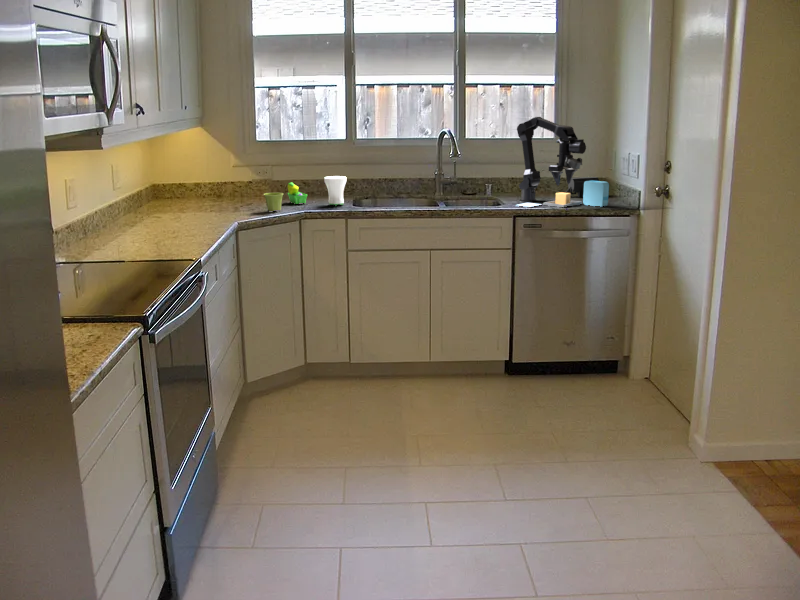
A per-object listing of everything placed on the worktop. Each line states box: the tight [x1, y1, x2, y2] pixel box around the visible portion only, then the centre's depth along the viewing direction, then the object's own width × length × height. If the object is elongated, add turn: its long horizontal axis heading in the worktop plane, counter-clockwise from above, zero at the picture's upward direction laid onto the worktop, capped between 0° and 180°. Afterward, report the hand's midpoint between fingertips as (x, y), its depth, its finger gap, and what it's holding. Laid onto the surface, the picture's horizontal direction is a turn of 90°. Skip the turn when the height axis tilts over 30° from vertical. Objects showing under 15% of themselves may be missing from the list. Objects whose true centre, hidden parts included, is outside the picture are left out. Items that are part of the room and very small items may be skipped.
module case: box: [542, 199, 583, 208], centre depth 386 cm, size 12×16×2 cm
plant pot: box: [263, 192, 284, 211], centre depth 376 cm, size 9×9×9 cm
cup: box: [323, 175, 348, 207], centre depth 393 cm, size 11×11×14 cm
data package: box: [582, 180, 610, 208], centre depth 382 cm, size 12×4×12 cm, turn 38°
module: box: [554, 192, 572, 205], centre depth 385 cm, size 6×4×6 cm, turn 44°
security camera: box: [564, 176, 600, 198], centre depth 413 cm, size 7×18×10 cm, turn 104°
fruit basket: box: [287, 182, 308, 205], centre depth 401 cm, size 11×9×11 cm
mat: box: [515, 202, 543, 208], centre depth 385 cm, size 9×10×1 cm
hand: (563, 184), depth 383 cm, fingers open, 9 cm apart
